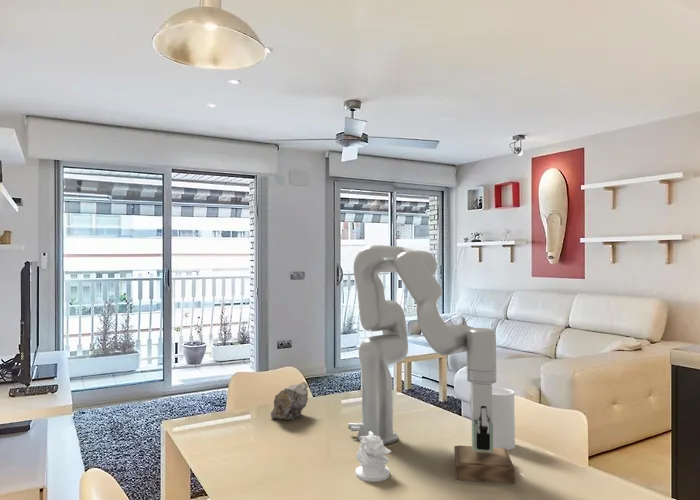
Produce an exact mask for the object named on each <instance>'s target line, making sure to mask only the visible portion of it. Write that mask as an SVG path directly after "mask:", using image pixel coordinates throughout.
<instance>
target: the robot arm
mask: <svg viewBox="0 0 700 500" xmlns="http://www.w3.org/2000/svg"><path fill="white" fill-rule="evenodd" d="M437 268H438V264H437V259H436V258H435V256H434V255H433V254H432V253H430V252H429V251H426V250H419V249H414V248H408V247H403V246H399V245H398V246H396V245H395V246H394V245H380V244H378V245H375V244H374V245H368V246H366V247H364V248H362V249H360V251H358V253H357V254H356V257H355V258H354V261H353V275H354V280H355V283H356V284H355V285H356V290H357V300H358V310H359V319H360V324H361V325H360V326H361V327H362V329H364V330H365V331H366V332H373V333H374V332H382V334H378V335H373V336H369V337H367V338H365V339H364V340H362V342H361V343H360V345H359V347H358V358H359V363H360V370H361V391H362V393H361V401H362V402H361V405H362V407H361V409H362V412H361V415H362V417H361V422H358V423H355V422H348V427H347V428H348V430H350V431H351V432H357V434H356V437H357V439H358V441H359V442H360V441H361V440H362V439H364V438H362V437H361V436H368V434H369V431H371V432H372V433H373V434H374V435H375V436H380V438H381V441H383V444H384V445H387V444H389V445H390V444H392V443H394V442H396V441H398V438H399V435H398V433H397V432H396V431H395V430H393V429H394V428H393V427H394V425H393V424H394V423H393V422H394V421H393V419H394V418H393V417H394V414H393V413H394V411H393V409H394V408H393V400H394V399H393V392H394V391H393V378H392V374H391V372H390V369H389V365H394V364H397V363H400V362H403V361H404V360H405V359H406V357H407V356H408V352H409V344H408V343H409V341H408V332H407V323H406V316H405V312H404V310H403V308H402V306H401V304H399V302H396V300H391V299H387V300H386V296H385V288H384V284H383V282H382V279H381V278H380V277H379V275H378V274H379V273H397V274H398V276H399V277H400V279H401V281H402V282H403V284H404V286H405V287H406V289H407V291H408V292H409V294H410V296H411V297H412V299H413V300H414V302H415V303H416V318H417V323H418V327H419V329H420V331H421V334H422V335H423V336H424V339H425V340H426V342H427V343H428V345H429V346H430V347H431V349H432V350H433V351H434V352H435V353H437V354H439V355H440V356H451V355H455V354H462V353H465V352H466V381H467V382H469V383H470V387H469V388H470V389H469V390H470V395H469V396H470V400H469V401H470V402H469V403H470V405H469V406H470V407H469V412H470V413H469V414H470V418H471V422H472V421H473V422H475V421H477V424H478V433H477V449H480V450H489V449H490V434H489V423H490V422H491V421H492V388H493V385H494V384H496V383H497V335H496V332H495V330H494V329H492V328H487V327H474V326H471V325H470V326H469V325H466V324H454V325H448V326H447V325H446V323H445V321H444V320H443V318H442V317H441V315H440V313H439V310H438V308H437V307H438V306H437V305H438V304H437V303H438V300H439V298H441V296H442V294H443V288H442V286H441V285H440V284H439V281H438V280H437V279H436V277H435V276H434V275H435V274H436V272H437ZM479 419H481V420H482V421H479ZM480 424H482V425H480Z"/></svg>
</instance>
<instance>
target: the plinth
mask: <svg viewBox="0 0 700 500" xmlns="http://www.w3.org/2000/svg"><path fill="white" fill-rule="evenodd" d="M453 450H454V452H453V453H454V457H453V458H454V467H455V469H454V470H455V474H456V475H455V477H456V480H458V481H468V482H469V481H471V482H485V483H487V482H488V483H499V484H500V483H502V484H515V483H516V479H515V478H516V476H515V475H516V474H515V473H516V472H515V471H516V470H515V467H514V464H513V461H512V460H511V456H510V453H509V452H508V451H509V450H507V449H503V448H494V447H493V452H479V451H473V447H472V445H471V446H470V445H460V444H459V445H454V449H453Z"/></svg>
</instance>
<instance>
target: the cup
mask: <svg viewBox="0 0 700 500" xmlns="http://www.w3.org/2000/svg"><path fill="white" fill-rule="evenodd" d="M515 420H516V419H515V391H514V390H512V389H508V388H503V387H492V423H493V447H494V448H503V449H507V451H510V450H513V449H515V448H516V432H515V431H516V427H515V426H516V421H515Z"/></svg>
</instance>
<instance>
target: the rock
mask: <svg viewBox="0 0 700 500" xmlns="http://www.w3.org/2000/svg"><path fill="white" fill-rule="evenodd" d="M308 385H309V384H307V382H305V381H302V382H301V383H299V384H292V385H289V386H287V387H285V388H284V389H282V390H280V391H279V392H278V394H276V395H275V397H274V400H273V410H272V411H271V412H270V417H271V418H274V419H279V420H282V421H283V420H285V421H289V420H290V421H291V420H294V419H295V418H297V417H300V416H302V412H303V410H304V408H305V407H307V404H308V400H309V398H308V397H309V395H308V393H309V390H308V387H309V386H308Z"/></svg>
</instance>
